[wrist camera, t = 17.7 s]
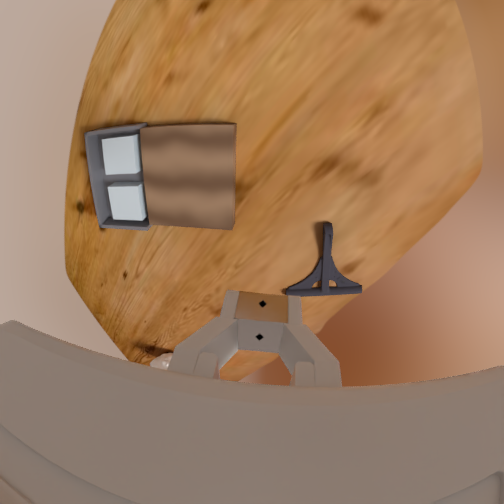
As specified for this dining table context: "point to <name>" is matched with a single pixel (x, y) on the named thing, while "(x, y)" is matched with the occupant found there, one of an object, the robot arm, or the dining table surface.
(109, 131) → the tray
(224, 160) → the board
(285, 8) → the dining table surface
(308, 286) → the bracket
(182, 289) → the dining table surface
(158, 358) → the bust
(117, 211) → the tile
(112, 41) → the dining table surface
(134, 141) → the tile
